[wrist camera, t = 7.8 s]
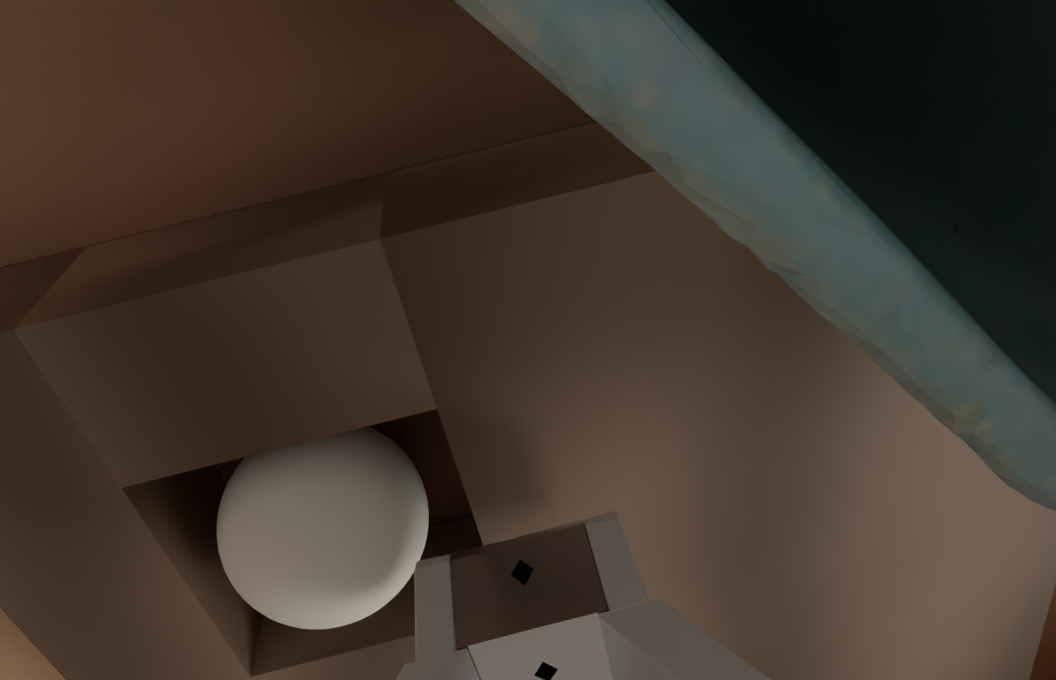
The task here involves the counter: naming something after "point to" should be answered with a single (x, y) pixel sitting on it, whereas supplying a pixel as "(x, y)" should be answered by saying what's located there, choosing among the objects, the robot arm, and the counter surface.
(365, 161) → the counter surface
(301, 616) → the ivory ball
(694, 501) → the board
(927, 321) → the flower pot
